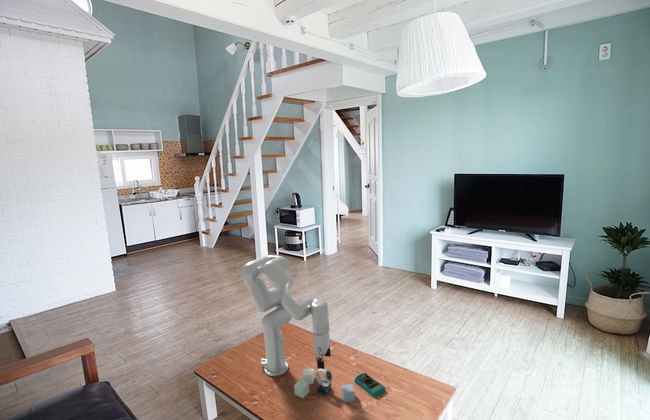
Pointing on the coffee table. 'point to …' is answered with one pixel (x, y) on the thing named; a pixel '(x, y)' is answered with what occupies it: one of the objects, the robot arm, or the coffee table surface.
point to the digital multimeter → (369, 384)
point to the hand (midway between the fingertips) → (324, 362)
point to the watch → (324, 385)
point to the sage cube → (301, 388)
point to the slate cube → (348, 393)
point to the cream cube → (308, 375)
